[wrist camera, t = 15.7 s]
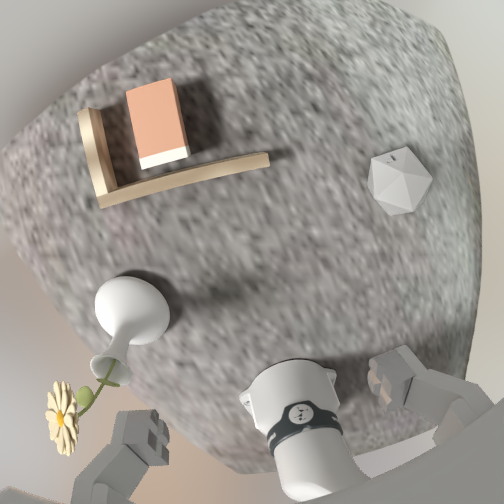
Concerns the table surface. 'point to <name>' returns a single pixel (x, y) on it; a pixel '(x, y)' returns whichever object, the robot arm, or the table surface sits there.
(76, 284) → the table surface
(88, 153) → the wooden corner bracket
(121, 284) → the flower in vase
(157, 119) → the block
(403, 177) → the die
